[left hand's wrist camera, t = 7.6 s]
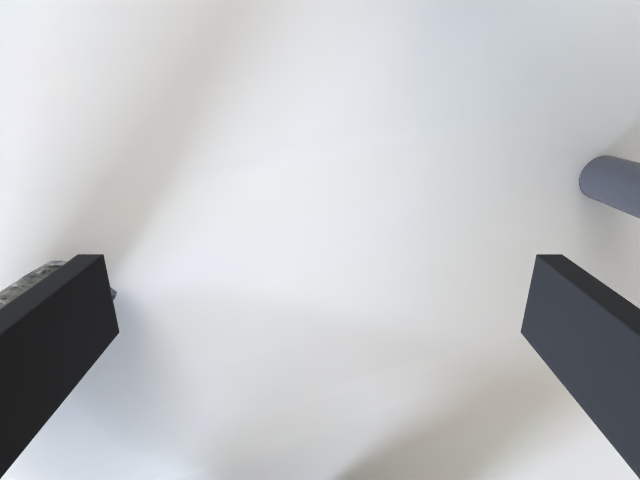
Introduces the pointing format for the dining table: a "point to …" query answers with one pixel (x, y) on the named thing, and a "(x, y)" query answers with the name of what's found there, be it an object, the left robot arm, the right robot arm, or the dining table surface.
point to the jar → (613, 183)
